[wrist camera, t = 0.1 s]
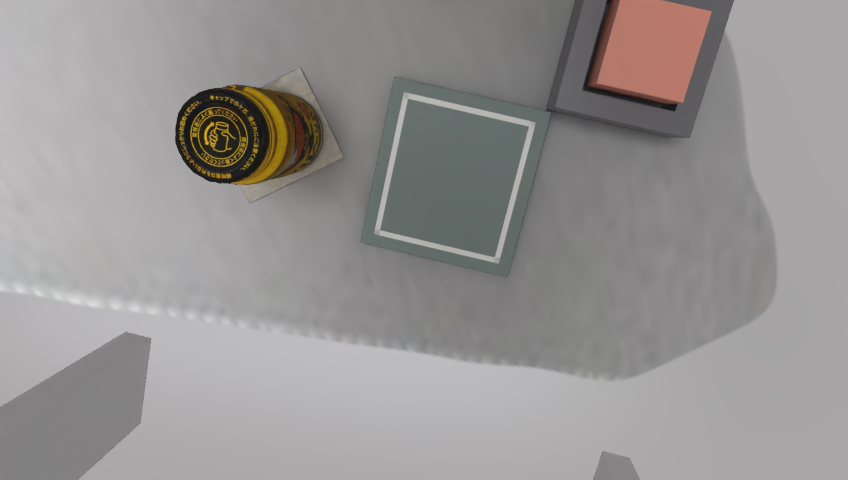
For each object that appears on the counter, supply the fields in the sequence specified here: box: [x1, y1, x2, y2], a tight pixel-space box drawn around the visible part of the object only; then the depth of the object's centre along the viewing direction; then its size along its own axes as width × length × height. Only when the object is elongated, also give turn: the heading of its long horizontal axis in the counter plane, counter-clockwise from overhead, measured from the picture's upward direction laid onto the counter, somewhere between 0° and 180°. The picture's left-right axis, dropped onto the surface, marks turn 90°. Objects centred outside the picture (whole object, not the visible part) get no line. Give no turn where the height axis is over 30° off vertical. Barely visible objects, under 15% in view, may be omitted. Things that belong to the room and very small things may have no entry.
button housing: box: [547, 0, 734, 138], centre depth 37 cm, size 9×9×4 cm
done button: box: [586, 0, 712, 105], centre depth 35 cm, size 5×5×3 cm
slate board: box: [361, 77, 551, 277], centre depth 41 cm, size 13×12×1 cm
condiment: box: [175, 68, 344, 203], centre depth 36 cm, size 7×8×12 cm
